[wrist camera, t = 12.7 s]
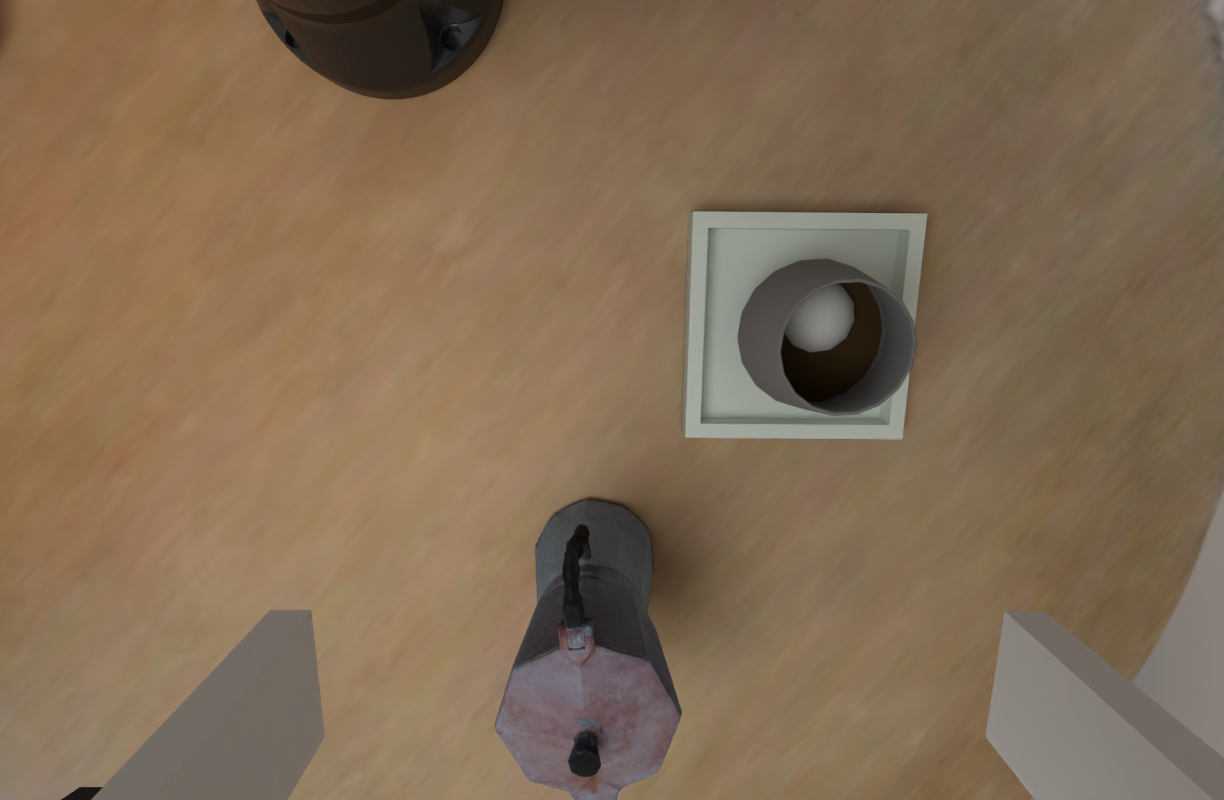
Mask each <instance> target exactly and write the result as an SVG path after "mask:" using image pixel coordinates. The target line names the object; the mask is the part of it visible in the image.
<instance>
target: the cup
mask: <svg viewBox="0 0 1224 800" xmlns="http://www.w3.org/2000/svg"><path fill="white" fill-rule="evenodd" d="M737 340H738V345H739V350H740V355H741V361H742V364H743V366H744V367H745V369H746V370H747V372H748V374H749V375H750V377H751V379H752V380H753V382H754V384H755V385H756V386H757V387H758V388H760V389H761V390H762V391H764V392H765V393H766V394H768V395H769V396H770V397H772V398H773V399H774V400H775V401H778V402H781V403H784V404H787V405H791V406H794V407H797V408H801V409H805V410H809V411H814V412H818V413H822V414H827V415H831V416H842V415H858V414H860V413H863V412H865V411H868V410H870V409H873V408H875V407H878V406H880V405H881V404H882V403H883V402H885V401H886V400H887V399H888V398H889V397H891V396H892V395H893V394H894V393H895V392H896V391H898V390H899V388H900V387H901V385H902V383H903V382H904V380H905V378H906V377H907V375H908V374H909V372H910V370H911V369H912V364H913V360H914V356H915V351H916V347H917V342H916V334H915V326H914V321H913V319H912V317H911V315H910V313H909V311H908V310H907V308H906V306H905V304H904V302H903V301H902V300H901V299H900V298H899V297H898V296H896V295H895V294H894V293H893V292H892V291H890V290H889V289H888V288H887V287H885V286H884V285H883V284H881V283H879V282H878V281H876V280H875V279H873V278H871V277H870V276H868V275H866V274H865V273H863V272H862V271H860V270H858V269H857V268H855V267H853V266H849V265H846V264H843V263H840V262H837V261H834V260H831V259H812V260H799V261H797V262H795V263H792V264H790V265H787V266H785V267H783V268H780V269H778V270H776V271H774V272H773V273H772V274H771V275H770V276H768V277H767V278H766V279H765V280H764V281H763V282H762V283H761V284H760V285H758V286H757V287H756V288H755V289H754V291H753V293H752V294H751V296H750V298H749V300H748V302H747V304H746V305H745V307H744V309H743V311H742V313H741V319H740V325H739V331H738V337H737Z"/></svg>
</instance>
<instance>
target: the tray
mask: <svg viewBox="0 0 1224 800" xmlns="http://www.w3.org/2000/svg"><path fill="white" fill-rule="evenodd" d="M926 221H927V214H911V213H806V212H701V211H693V212H691V213H689V214H688V243H687V273H686V303H685V333H684V363H683V393H682V423H681V429H682V431H683V433H684V436H685V438H802V439H902V437H903V428H904V419H905V410H906V401H907V392H908V383H909V374H910V372H909V374H908V375H907V377H906V378H905V380H904V382H903V383H902V385H901V387H900V388H899V390H898V391H896V392H895V393H894V394H893V395H892V396H891V397H889V398H888V399H887V400H886V401H885V402H883V403H882V404H881V405H880V406H878V407H875V408H873V409H870V410H868V411H865V412H863V413H860V414H858V415H842V416H831V415H827V414H822V413H818V412H814V411H809V410H805V409H801V408H797V407H794V406H791V405H787V404H784V403H781V402H778V401H775V400H774V399H773V398H772V397H770V396H769V395H768V394H766V393H765V392H764V391H762V390H761V389H760V388H758V387H757V386H756V385H755V384H754V382H753V380H752V379H751V377H750V375H749V374H748V372H747V370H746V369H745V367H744V366H743V364H742V361H741V355H740V350H739V345H738V340H737V337H738V331H739V325H740V319H741V313H742V311H743V309H744V307H745V305H746V304H747V302H748V300H749V298H750V296H751V294H752V293H753V291H754V289H755V288H756V287H757V286H758V285H760V284H761V283H762V282H763V281H764V280H765V279H766V278H767V277H768V276H770V275H771V274H772V273H773V272H774V271H776V270H778V269H780V268H783V267H785V266H787V265H790V264H792V263H795V262H797V261H799V260H812V259H831V260H834V261H837V262H840V263H843V264H846V265H849V266H853V267H855V268H857V269H858V270H860V271H862V272H863V273H865V274H866V275H868V276H870V277H871V278H873V279H875V280H876V281H878V282H879V283H881V284H883V285H884V286H885V287H887V288H888V289H889V290H890V291H892V292H893V293H894V294H895V295H896V296H898V297H899V298H900V299H901V300H902V301H903V302H904V304H905V306H906V308H907V310H908V311H909V313H910V315H911V317H912V319H913V321H914V326H915V320H916V311H917V302H918V293H919V284H920V275H921V266H922V257H923V248H924V239H925V230H926Z"/></svg>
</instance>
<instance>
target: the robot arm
mask: <svg viewBox="0 0 1224 800" xmlns="http://www.w3.org/2000/svg"><path fill="white" fill-rule="evenodd" d="M256 1H257V3H258V5H259V7H260V9H261V11H262V13H263V15H264V16H265V18H266V20H267V22H268V23H269V25H270V26H271V28H272V29H273V31H274V32H275V33H276V35H277V36H278V37H279V38H280V40H281V41H282V42H283V43H284V44H285V45H286V47H287V48H288V49H289V50H290V51H291V52H292V53H293V54H294V55H295V56H296V57H298V58H299V59H300V60H301V61H302V62H303V63H305V64H306V65H307V66H309V67H310V68H311V69H313V70H314V71H316V72H317V73H319V74H320V75H322V76H323V77H325V78H327V79H328V80H330V81H331V82H333V83H335V84H337V85H339V86H341V87H343V88H345V89H347V90H349V91H352V92H355V93H358V94H361V95H364V96H369V97H374V98H381V99H404V98H411V97H416V96H420V95H424V94H427V93H429V92H432V91H435V90H437V89H439V88H441V87H443V86H445V85H446V84H448V83H450V82H451V81H453V80H454V79H455V78H457V77H458V76H459V75H461V74H462V73H463V72H464V71H465V70H466V69H467V68H468V67H469V66H470V65H471V64H472V63H473V62H474V61H475V60H476V58H477V57H478V56H479V54H480V53H481V52H482V50H483V49H484V47H485V46H486V44H487V42H488V40H489V38H490V37H491V35H492V32H493V30H494V28H495V25H496V23H497V20H498V17H499V13H500V10H501V6H502V1H503V0H256ZM324 737H325V735H324V726H323V716H322V707H321V697H320V688H319V679H318V669H317V660H316V651H315V641H314V632H313V623H312V613H311V610H270V611H269V612H268V613H267V614H266V615H265V616H264V617H263V619H262V620H261V621H260V622H259V623H258V624H257V625H256V626H255V627H254V628H253V629H252V630H251V631H250V632H249V633H248V634H247V635H246V636H245V638H244V639H243V640H242V641H241V642H240V643H239V644H238V645H237V646H236V647H235V648H234V649H233V650H232V651H231V652H230V653H229V654H228V656H227V657H226V658H225V659H224V660H223V661H222V662H221V663H220V664H219V665H218V666H217V667H216V668H215V669H214V670H213V671H212V672H211V674H210V675H209V676H208V677H207V678H206V679H205V680H204V681H203V682H202V683H201V684H200V685H199V686H198V687H197V688H196V689H195V690H194V691H193V693H192V694H191V695H190V696H189V697H188V698H187V699H186V700H185V701H184V702H183V703H182V704H181V705H180V706H179V707H178V708H177V709H176V711H175V712H174V713H173V714H172V715H171V716H170V717H169V718H168V719H167V720H166V721H165V722H164V723H163V724H162V725H161V726H160V727H159V728H158V730H157V731H156V732H155V733H154V734H153V735H152V736H151V737H150V738H149V739H148V740H147V741H146V742H145V743H144V744H143V745H142V746H141V748H140V749H139V750H138V751H137V752H136V753H135V754H134V755H133V756H132V757H131V758H130V759H129V760H128V761H127V762H126V763H125V764H124V766H123V767H122V768H121V769H120V770H119V771H118V772H117V773H116V774H115V775H114V776H113V777H112V778H111V779H110V780H109V781H108V782H107V783H106V785H105V786H104V787H79V788H78V789H76V790H75V791H73V792H72V793H71V794H69V795H68V796H66V797H65V798H63V799H62V800H288V798H289V796H290V794H291V793H292V791H293V789H294V788H295V786H296V784H297V783H298V781H299V779H300V777H301V776H302V774H303V772H304V771H305V769H306V767H307V765H308V764H309V762H310V760H311V759H312V757H313V755H314V754H315V752H316V750H317V748H318V747H319V745H320V743H321V742H322V740H323V738H324ZM986 738H987V739H988V740H989V741H990V743H991V744H992V745H993V747H994V748H995V749H996V750H997V752H998V753H999V754H1000V756H1001V757H1002V758H1003V759H1004V761H1005V762H1006V763H1007V764H1008V766H1009V767H1010V768H1011V770H1012V771H1013V772H1014V773H1015V775H1016V776H1017V777H1018V779H1019V780H1020V781H1021V782H1022V784H1023V785H1024V786H1025V788H1026V789H1027V790H1028V791H1029V793H1030V794H1031V795H1032V796H1033V798H1034V799H1035V800H1224V758H1223V757H1222V756H1221V755H1219V754H1218V753H1217V752H1216V751H1214V750H1213V749H1212V748H1211V747H1209V746H1208V745H1207V744H1206V743H1204V742H1203V741H1202V740H1201V739H1200V738H1199V737H1197V736H1196V735H1195V734H1194V733H1192V732H1191V731H1190V730H1189V729H1188V728H1186V727H1185V726H1184V725H1183V724H1181V723H1180V722H1179V721H1178V720H1177V719H1175V718H1174V717H1173V716H1172V715H1170V714H1169V713H1168V712H1167V711H1166V710H1164V709H1163V708H1162V707H1161V706H1160V705H1158V704H1157V703H1156V702H1155V701H1153V700H1152V699H1151V698H1150V697H1148V696H1147V695H1146V694H1145V693H1144V692H1142V691H1141V690H1140V689H1139V688H1137V687H1136V686H1135V685H1134V684H1133V683H1132V682H1130V681H1129V680H1128V679H1127V678H1125V677H1124V676H1123V675H1122V674H1121V673H1119V672H1118V671H1117V670H1116V669H1114V668H1113V667H1112V666H1111V665H1110V664H1108V663H1107V662H1106V661H1105V660H1104V659H1102V658H1101V657H1100V656H1099V655H1097V654H1096V653H1095V652H1094V651H1093V650H1091V649H1090V648H1089V647H1088V646H1086V645H1085V644H1084V643H1083V642H1082V641H1080V640H1079V639H1078V638H1077V637H1076V636H1074V635H1073V634H1072V633H1071V632H1069V631H1068V630H1067V629H1066V628H1065V627H1063V626H1062V625H1061V624H1060V623H1058V622H1057V621H1056V620H1055V619H1054V618H1052V617H1051V616H1050V615H1049V614H1047V613H1046V612H1045V611H1005V612H1004V619H1003V626H1002V632H1001V639H1000V645H999V652H998V658H997V665H996V671H995V678H994V684H993V691H992V698H991V704H990V711H989V717H988V724H987V730H986Z"/></svg>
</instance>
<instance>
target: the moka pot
mask: <svg viewBox="0 0 1224 800" xmlns="http://www.w3.org/2000/svg"><path fill="white" fill-rule="evenodd" d="M535 555H536V583H537V606H536V609H535V611H534V614H533V616H532V619H531V622H530V624H529V627H528V629H527V632H526V634H525V637H524V639H523V642H522V644H521V647H520V649H519V652H518V654H517V656H516V659H515V662H514V664H513V667H512V670H511V673H510V676H509V679H508V682H507V686H506V689H505V692H504V696H503V699H502V702H501V705H500V709H499V712H498V715H497V718H496V722H495V729H496V732H497V733H498V735H499V736H500V738H501V739H502V740H503V742H504V743H505V745H506V746H507V748H508V749H509V751H510V752H511V754H512V755H513V757H514V758H515V760H516V761H517V763H518V764H519V766H520V767H521V769H522V770H523V772H524V774H525V776H526V777H527V778H528V779H529V780H530V781H532V782H536V783H539V784H543V785H547V786H550V787H554V788H558V789H562V790H565V791H568V792H569V793H570V794H571V796H572V797H573V799H574V800H617V796H618V793H619V791H620V790H621V788H623V787H625V786H627V785H629V784H631V783H634V782H637V781H639V780H642V779H644V778H647V777H649V776H651V775H653V774H655V773H657V772H658V770H659V769H660V767H661V765H662V763H663V761H664V758H665V756H666V753H667V751H668V748H669V746H670V743H671V741H672V738H673V736H674V733H675V731H676V729H677V726H678V724H679V721H680V717H681V713H682V712H681V708H680V705H679V702H678V699H677V696H676V692H675V689H674V686H673V682H672V679H671V676H670V673H669V670H668V666H667V663H666V660H665V657H664V654H663V651H662V647H661V644H660V641H659V638H658V634H657V631H656V629H655V627H654V625H653V623H652V621H651V619H650V617H649V616H648V613H647V611H648V603H649V596H650V590H651V583H652V576H653V569H654V558H653V550H652V543H651V537H650V532H649V531H648V530H647V528H646V527H645V526H644V525H643V523H642V522H641V521H640V520H639V519H638V518H637V517H636V516H634V515H633V514H632V513H631V512H629V511H628V510H627V509H625V508H624V507H621V506H619V505H616V504H613V503H607V502H602V501H594V500H589V499H587V500H583V501H580V502H578V503H575V504H573V505H570V506H568V507H566V508H564V509H562V510H561V511H560V512H558V513H557V514H555V515H554V516H552V517H551V518H550V520H549V521H548V523H547V525H546V526H545V528H544V530H543V532H542V534H541V536H540V538H539V540H538V542H537V543H536V547H535Z"/></svg>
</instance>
